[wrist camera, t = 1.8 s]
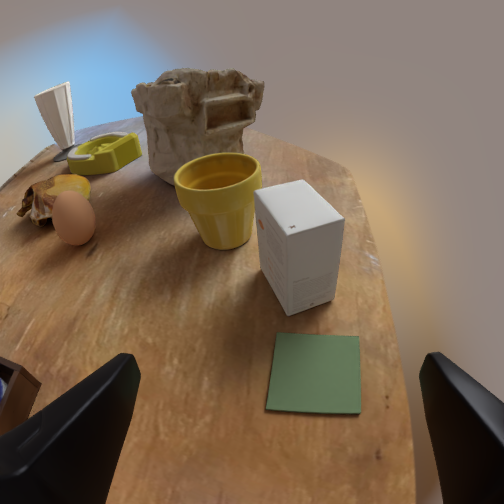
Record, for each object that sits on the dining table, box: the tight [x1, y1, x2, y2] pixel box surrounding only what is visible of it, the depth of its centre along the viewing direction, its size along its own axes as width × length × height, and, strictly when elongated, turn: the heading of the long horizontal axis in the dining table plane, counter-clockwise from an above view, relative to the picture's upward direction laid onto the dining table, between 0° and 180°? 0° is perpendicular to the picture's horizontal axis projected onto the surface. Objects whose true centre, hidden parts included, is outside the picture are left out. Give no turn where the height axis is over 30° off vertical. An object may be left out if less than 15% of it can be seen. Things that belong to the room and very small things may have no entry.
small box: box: [254, 180, 345, 316], centre depth 31 cm, size 8×6×10 cm
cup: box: [34, 82, 82, 162], centre depth 72 cm, size 12×12×22 cm
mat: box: [266, 332, 361, 414], centre depth 26 cm, size 8×8×1 cm
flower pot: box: [174, 153, 262, 250], centre depth 39 cm, size 10×10×10 cm
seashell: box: [17, 174, 91, 227], centre depth 51 cm, size 17×8×15 cm
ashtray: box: [67, 132, 142, 175], centre depth 68 cm, size 16×21×5 cm
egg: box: [52, 190, 96, 245], centre depth 41 cm, size 7×7×9 cm
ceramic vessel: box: [131, 68, 264, 185], centre depth 52 cm, size 23×24×25 cm
